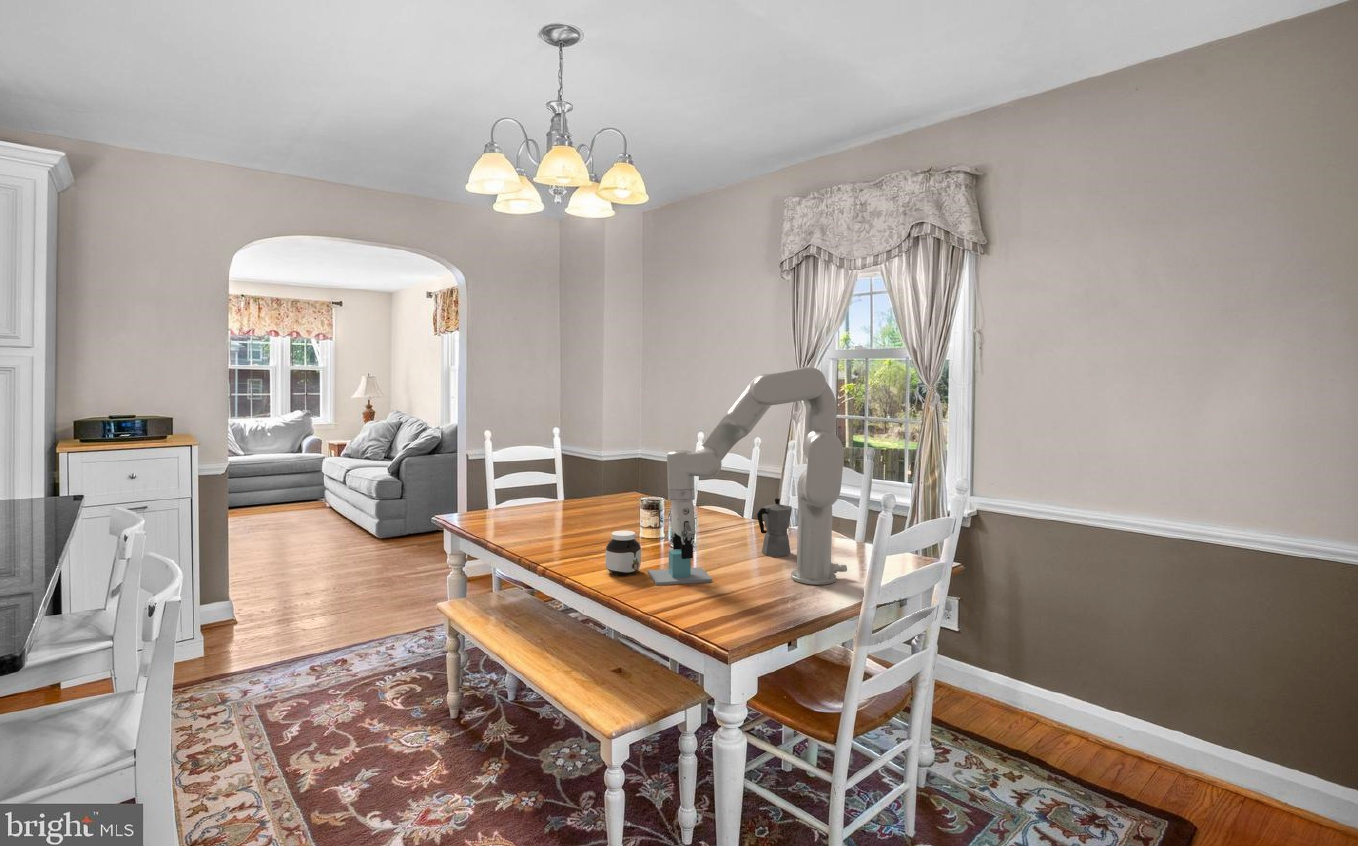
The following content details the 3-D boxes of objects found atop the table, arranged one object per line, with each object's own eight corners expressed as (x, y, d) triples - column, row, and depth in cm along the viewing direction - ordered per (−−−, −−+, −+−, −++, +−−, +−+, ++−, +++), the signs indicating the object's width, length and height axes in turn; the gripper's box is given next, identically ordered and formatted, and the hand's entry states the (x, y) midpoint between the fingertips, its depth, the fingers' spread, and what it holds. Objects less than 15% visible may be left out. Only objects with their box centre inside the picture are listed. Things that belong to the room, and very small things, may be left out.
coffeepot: (779, 547, 235) (780, 494, 234) (800, 553, 228) (802, 498, 226) (746, 554, 225) (747, 499, 224) (767, 561, 218) (769, 503, 217)
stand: (700, 569, 207) (701, 550, 207) (712, 581, 196) (712, 561, 195) (647, 572, 203) (647, 553, 203) (656, 585, 192) (656, 564, 191)
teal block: (686, 571, 203) (686, 548, 202) (690, 576, 197) (690, 553, 197) (668, 572, 201) (668, 549, 201) (672, 577, 196) (672, 554, 196)
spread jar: (619, 578, 197) (619, 538, 197) (593, 570, 205) (593, 531, 204) (649, 570, 206) (649, 531, 205) (623, 563, 214) (623, 525, 213)
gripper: (702, 498, 190) (704, 560, 191) (686, 488, 207) (688, 545, 208) (675, 500, 188) (677, 563, 190) (661, 490, 205) (663, 548, 206)
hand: (682, 554), depth 199 cm, fingers open, 9 cm apart
